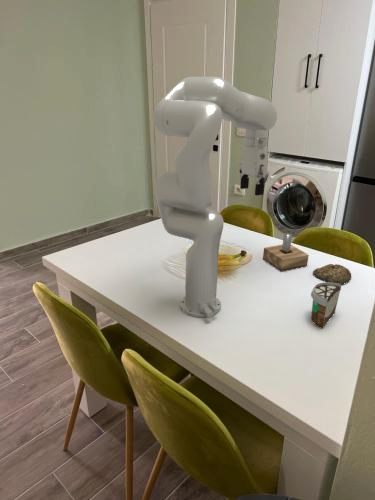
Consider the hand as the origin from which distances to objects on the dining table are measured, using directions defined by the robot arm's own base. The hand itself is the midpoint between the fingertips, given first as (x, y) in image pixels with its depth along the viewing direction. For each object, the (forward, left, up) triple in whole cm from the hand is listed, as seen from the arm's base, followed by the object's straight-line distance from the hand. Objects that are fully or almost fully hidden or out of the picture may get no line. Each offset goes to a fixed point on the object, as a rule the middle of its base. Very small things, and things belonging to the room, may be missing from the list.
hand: (251, 191), depth 134 cm
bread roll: (-22, -24, -29) cm, 43 cm away
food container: (-41, 0, -28) cm, 50 cm away
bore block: (-6, -14, -28) cm, 32 cm away
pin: (-6, -14, -27) cm, 31 cm away
